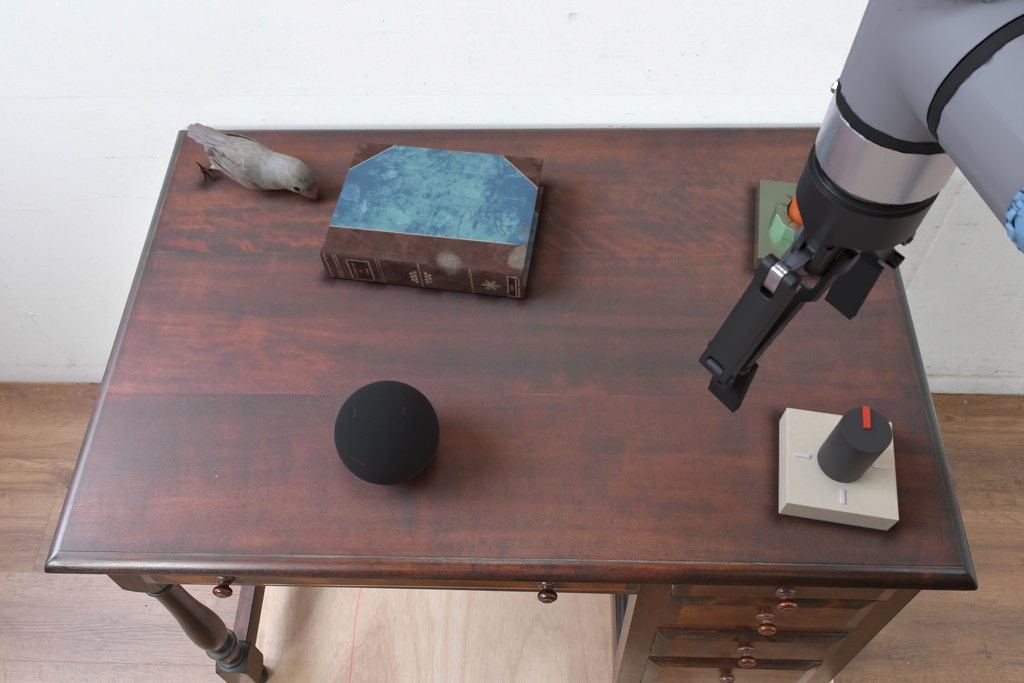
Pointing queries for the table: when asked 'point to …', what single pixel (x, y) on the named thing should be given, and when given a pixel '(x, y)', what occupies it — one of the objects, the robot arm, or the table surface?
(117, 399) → the table surface
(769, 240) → the button box
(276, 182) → the decorative bird
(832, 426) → the knob panel
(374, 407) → the speaker
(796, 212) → the button
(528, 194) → the book
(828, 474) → the knob
